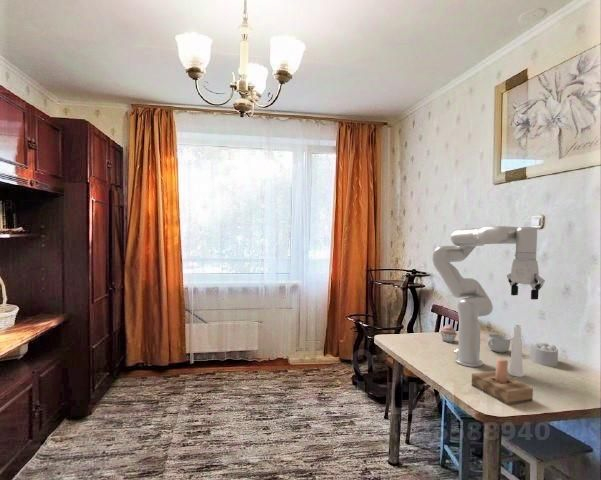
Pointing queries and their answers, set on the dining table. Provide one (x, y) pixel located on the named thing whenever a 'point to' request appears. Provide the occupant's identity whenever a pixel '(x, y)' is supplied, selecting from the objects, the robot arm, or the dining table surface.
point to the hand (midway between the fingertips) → (524, 297)
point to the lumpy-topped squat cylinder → (544, 354)
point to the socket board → (502, 388)
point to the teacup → (498, 342)
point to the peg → (501, 371)
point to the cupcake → (448, 333)
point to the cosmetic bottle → (516, 354)
